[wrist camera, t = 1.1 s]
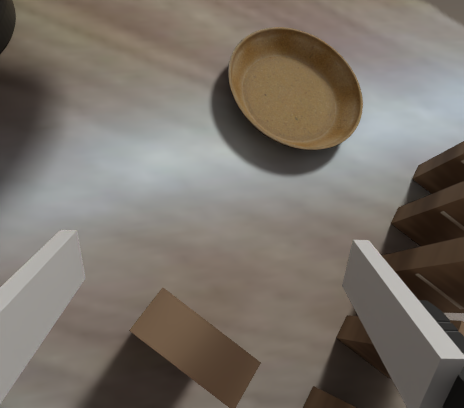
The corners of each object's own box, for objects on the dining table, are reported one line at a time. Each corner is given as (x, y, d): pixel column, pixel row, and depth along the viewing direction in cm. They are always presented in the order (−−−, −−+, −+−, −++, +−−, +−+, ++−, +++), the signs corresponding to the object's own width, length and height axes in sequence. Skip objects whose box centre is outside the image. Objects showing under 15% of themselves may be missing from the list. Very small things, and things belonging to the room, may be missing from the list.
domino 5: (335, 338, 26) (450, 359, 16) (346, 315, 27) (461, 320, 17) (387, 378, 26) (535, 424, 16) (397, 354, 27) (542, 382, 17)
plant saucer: (372, 133, 35) (388, 120, 32) (268, 182, 30) (278, 171, 27) (305, 34, 37) (315, 15, 35) (198, 63, 32) (201, 43, 30)
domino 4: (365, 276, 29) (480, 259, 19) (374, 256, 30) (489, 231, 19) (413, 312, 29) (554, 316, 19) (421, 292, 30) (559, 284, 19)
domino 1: (139, 321, 23) (127, 332, 13) (159, 295, 24) (162, 287, 14) (198, 366, 23) (232, 412, 13) (216, 339, 24) (260, 362, 14)
